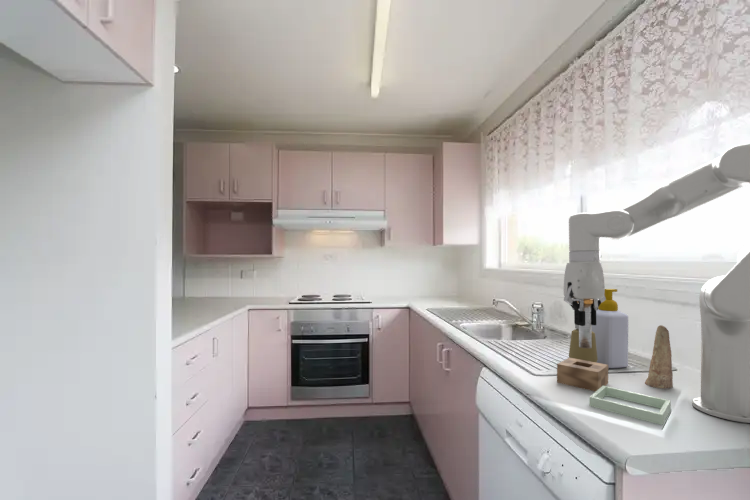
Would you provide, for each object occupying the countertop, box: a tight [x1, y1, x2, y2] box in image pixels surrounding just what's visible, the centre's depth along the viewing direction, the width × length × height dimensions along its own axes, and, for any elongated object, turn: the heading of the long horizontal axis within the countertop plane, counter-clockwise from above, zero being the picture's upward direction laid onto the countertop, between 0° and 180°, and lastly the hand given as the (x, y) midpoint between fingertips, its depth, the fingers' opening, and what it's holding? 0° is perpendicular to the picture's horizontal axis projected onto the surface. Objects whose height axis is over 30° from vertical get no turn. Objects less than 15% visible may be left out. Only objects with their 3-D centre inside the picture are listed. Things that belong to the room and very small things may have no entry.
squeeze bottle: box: [568, 324, 598, 363], centre depth 120 cm, size 8×8×18 cm
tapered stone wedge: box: [644, 324, 674, 389], centre depth 102 cm, size 6×18×6 cm
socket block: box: [556, 357, 609, 393], centre depth 104 cm, size 10×10×6 cm
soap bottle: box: [591, 288, 629, 369], centre depth 126 cm, size 9×9×25 cm
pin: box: [577, 299, 593, 348], centre depth 104 cm, size 4×4×13 cm
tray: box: [588, 385, 672, 430], centre depth 87 cm, size 14×12×3 cm
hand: (585, 324), depth 104 cm, fingers closed on pin, 3 cm apart
